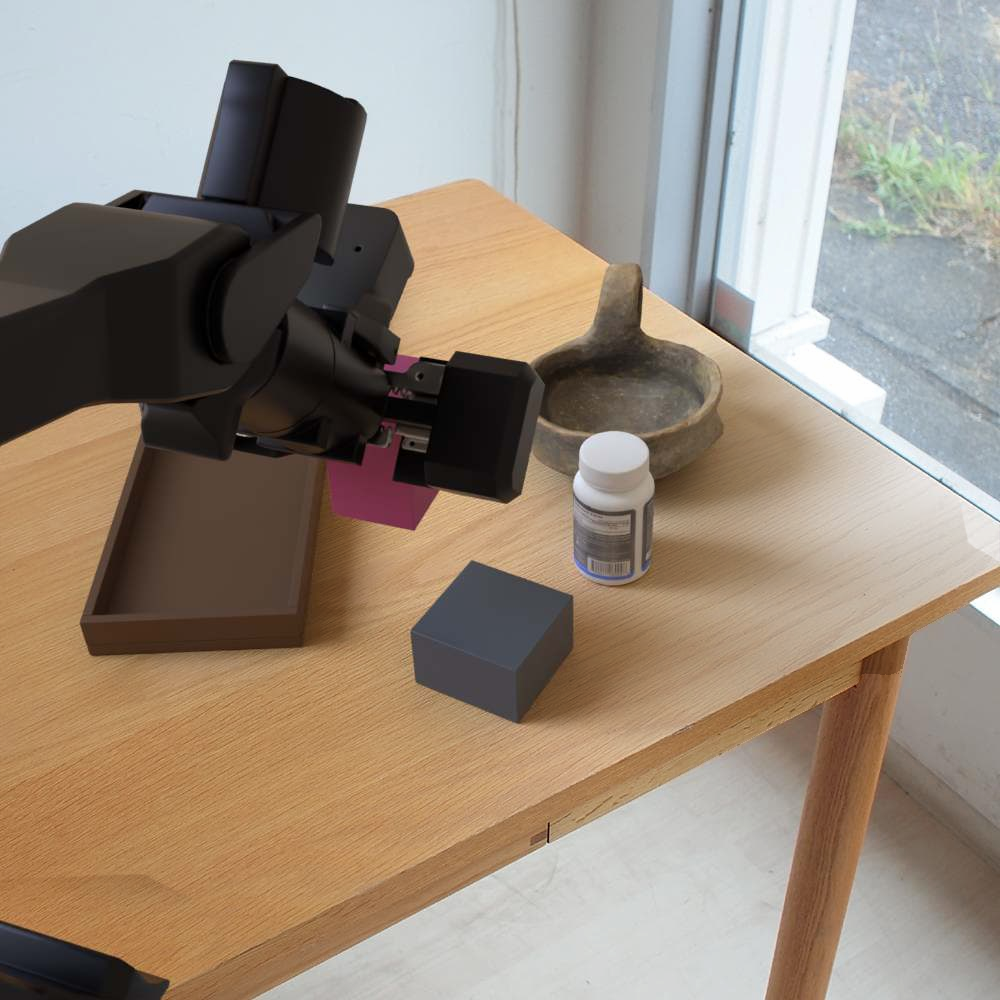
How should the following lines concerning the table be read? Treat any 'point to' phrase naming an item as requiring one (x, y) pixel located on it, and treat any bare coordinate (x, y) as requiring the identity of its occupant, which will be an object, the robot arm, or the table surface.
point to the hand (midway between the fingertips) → (396, 434)
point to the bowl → (626, 387)
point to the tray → (207, 554)
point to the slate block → (493, 640)
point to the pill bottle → (613, 509)
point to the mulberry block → (379, 481)
